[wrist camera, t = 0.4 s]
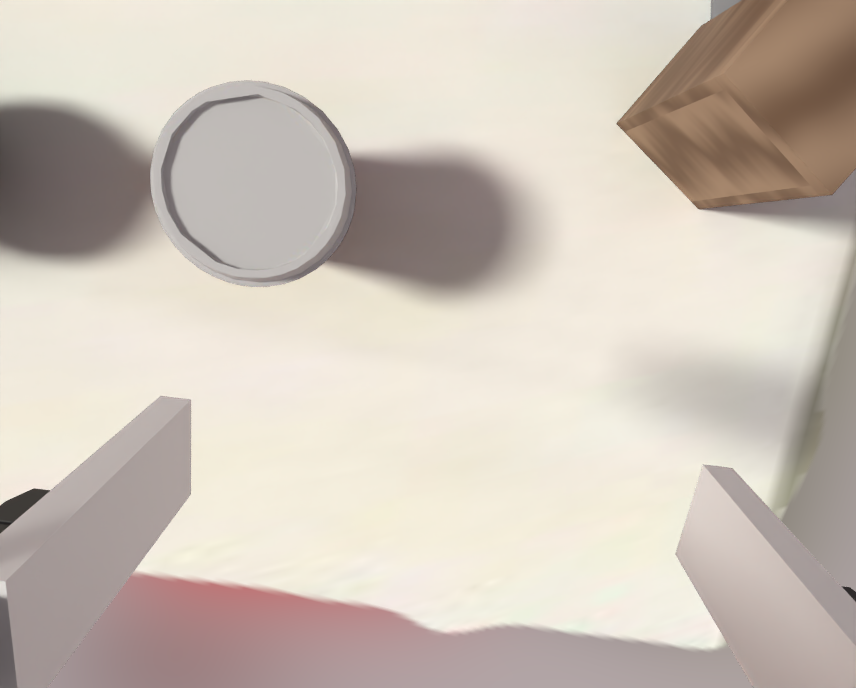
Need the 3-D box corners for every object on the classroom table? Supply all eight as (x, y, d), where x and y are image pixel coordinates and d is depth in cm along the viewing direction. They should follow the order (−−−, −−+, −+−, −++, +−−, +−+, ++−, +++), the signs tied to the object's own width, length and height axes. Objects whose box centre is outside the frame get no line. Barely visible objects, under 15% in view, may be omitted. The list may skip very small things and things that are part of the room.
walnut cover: (616, 123, 40) (724, 73, 29) (701, 25, 40) (845, -66, 28) (698, 209, 42) (832, 194, 30) (780, 116, 42) (947, 65, 30)
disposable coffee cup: (375, 159, 39) (384, 121, 27) (328, 295, 40) (317, 316, 28) (232, 102, 37) (176, 37, 25) (187, 246, 38) (114, 247, 26)
